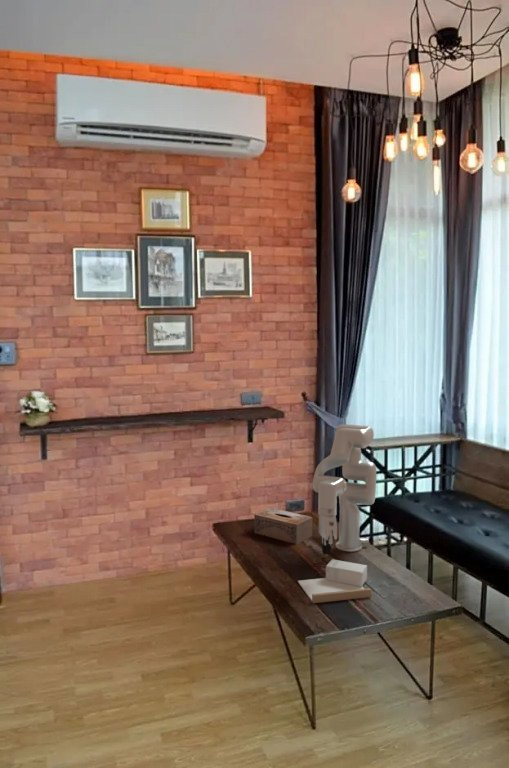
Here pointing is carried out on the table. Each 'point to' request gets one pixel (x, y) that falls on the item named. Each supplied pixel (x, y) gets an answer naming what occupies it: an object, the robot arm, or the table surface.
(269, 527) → the tissue box cover
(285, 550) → the table surface
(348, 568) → the skincare box
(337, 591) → the white flat piece
